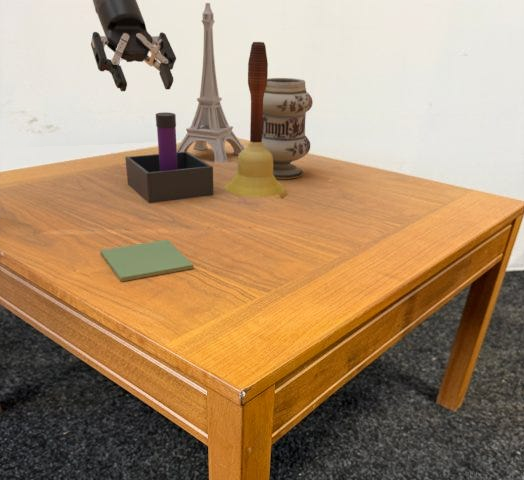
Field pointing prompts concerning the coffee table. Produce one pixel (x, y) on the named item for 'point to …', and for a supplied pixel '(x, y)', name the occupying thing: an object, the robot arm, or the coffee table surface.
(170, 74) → the robot arm
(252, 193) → the handbell
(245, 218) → the coffee table surface
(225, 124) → the eiffel tower
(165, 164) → the marker
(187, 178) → the bin
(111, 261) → the mat
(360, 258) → the coffee table surface
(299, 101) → the apothecary jar
